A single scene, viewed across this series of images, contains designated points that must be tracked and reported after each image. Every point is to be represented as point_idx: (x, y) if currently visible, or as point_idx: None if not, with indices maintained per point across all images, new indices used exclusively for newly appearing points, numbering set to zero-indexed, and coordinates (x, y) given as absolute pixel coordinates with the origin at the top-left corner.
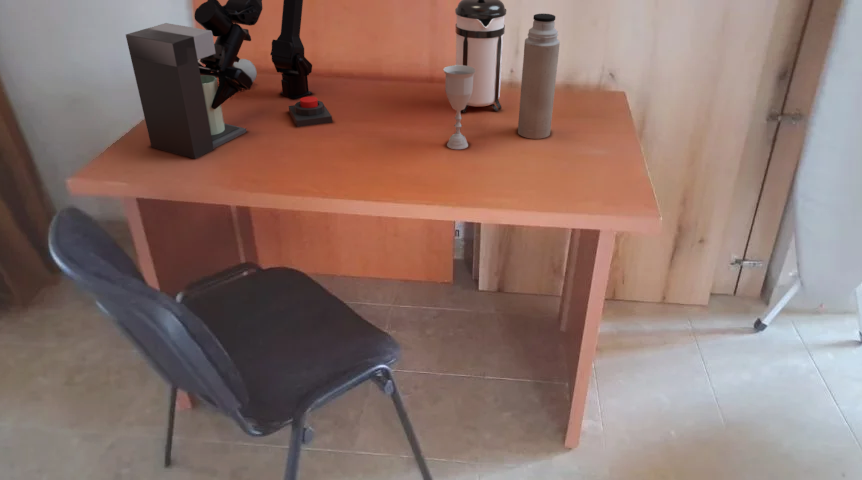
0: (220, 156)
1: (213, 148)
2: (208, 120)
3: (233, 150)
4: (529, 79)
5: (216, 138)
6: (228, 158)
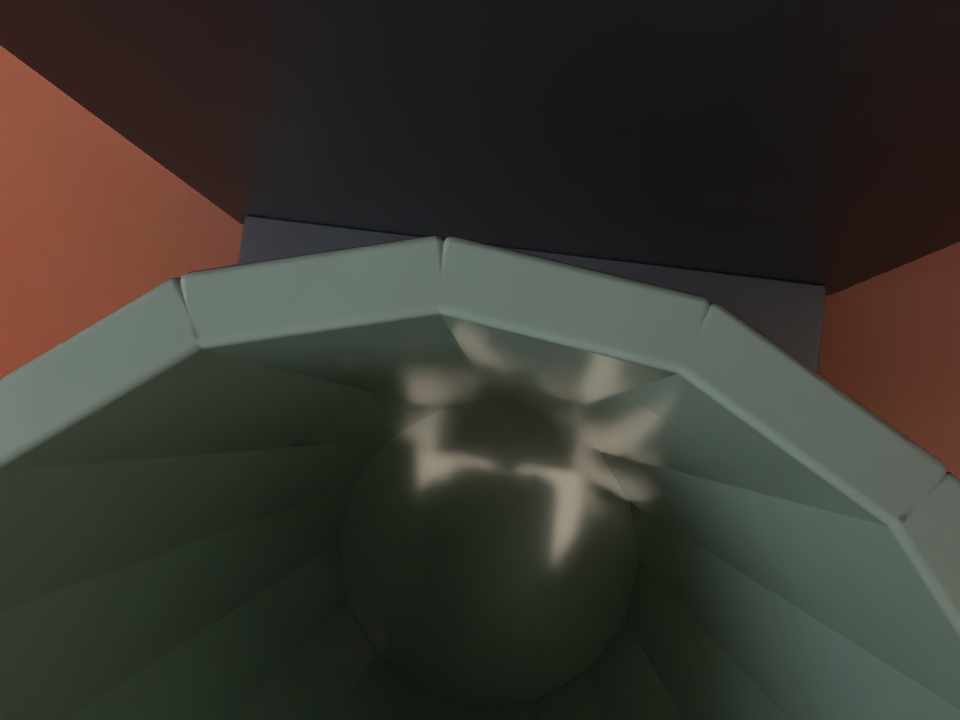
0: (98, 125)
1: (234, 218)
2: (59, 88)
3: (58, 285)
4: None
5: None
6: (5, 117)
